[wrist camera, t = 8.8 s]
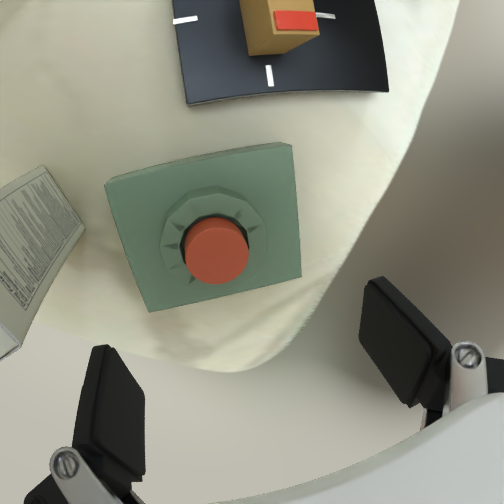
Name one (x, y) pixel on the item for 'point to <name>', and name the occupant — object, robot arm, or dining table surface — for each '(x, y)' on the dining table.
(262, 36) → the tap handle
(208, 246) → the button
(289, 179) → the button block
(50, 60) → the dining table surface
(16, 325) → the cosmetic box
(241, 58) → the base
